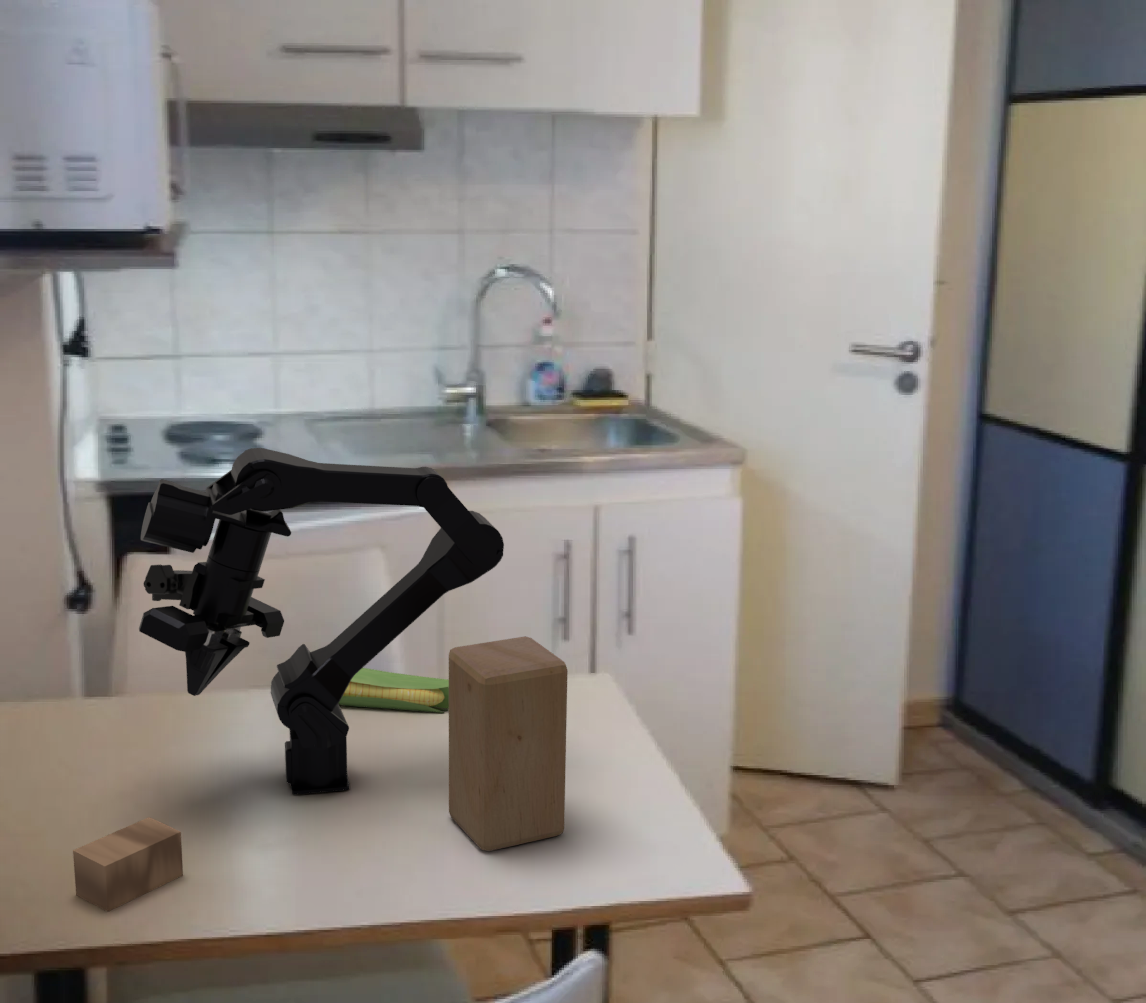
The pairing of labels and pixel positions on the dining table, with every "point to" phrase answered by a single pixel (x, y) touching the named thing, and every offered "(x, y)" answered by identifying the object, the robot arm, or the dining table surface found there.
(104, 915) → the dining table surface
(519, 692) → the wooden block
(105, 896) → the walnut block
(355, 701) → the edible corn
